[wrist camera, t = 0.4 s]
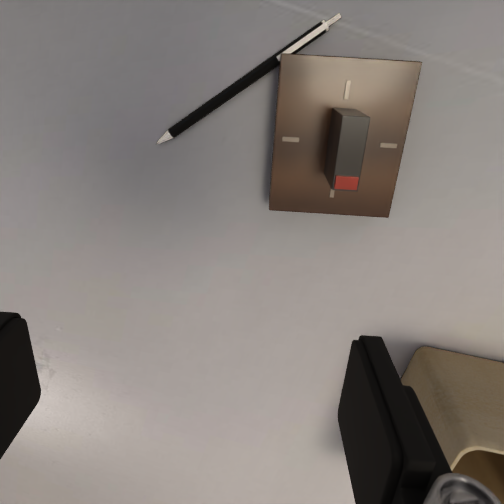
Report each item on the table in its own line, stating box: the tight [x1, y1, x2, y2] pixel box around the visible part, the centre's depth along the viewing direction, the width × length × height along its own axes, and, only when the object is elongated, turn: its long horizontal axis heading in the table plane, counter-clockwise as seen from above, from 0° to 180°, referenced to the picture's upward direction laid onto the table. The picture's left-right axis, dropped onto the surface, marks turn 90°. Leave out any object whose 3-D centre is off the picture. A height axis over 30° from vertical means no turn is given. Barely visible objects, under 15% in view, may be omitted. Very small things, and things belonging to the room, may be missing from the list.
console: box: [269, 53, 422, 218], centre depth 36 cm, size 13×11×3 cm
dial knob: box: [324, 108, 370, 192], centre depth 32 cm, size 6×2×5 cm, turn 177°
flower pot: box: [401, 346, 504, 504], centre depth 42 cm, size 19×19×17 cm
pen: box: [156, 13, 341, 144], centre depth 35 cm, size 1×19×1 cm, turn 123°
